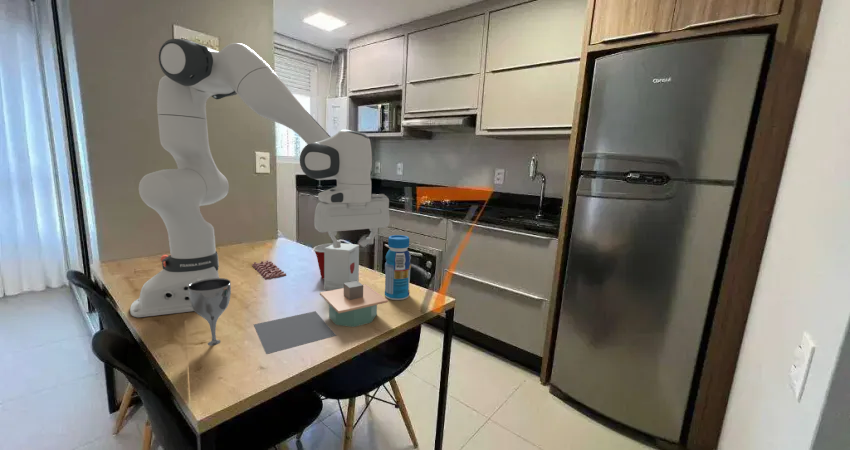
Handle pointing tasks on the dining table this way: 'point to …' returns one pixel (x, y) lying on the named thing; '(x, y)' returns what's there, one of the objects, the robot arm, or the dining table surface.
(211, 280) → the wine glass
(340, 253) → the supplement box
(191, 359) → the dining table surface
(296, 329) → the mat
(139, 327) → the dining table surface
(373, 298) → the cover
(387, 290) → the beverage bottle
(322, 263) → the plastic cup
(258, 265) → the chocolate bar
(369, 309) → the bowl
